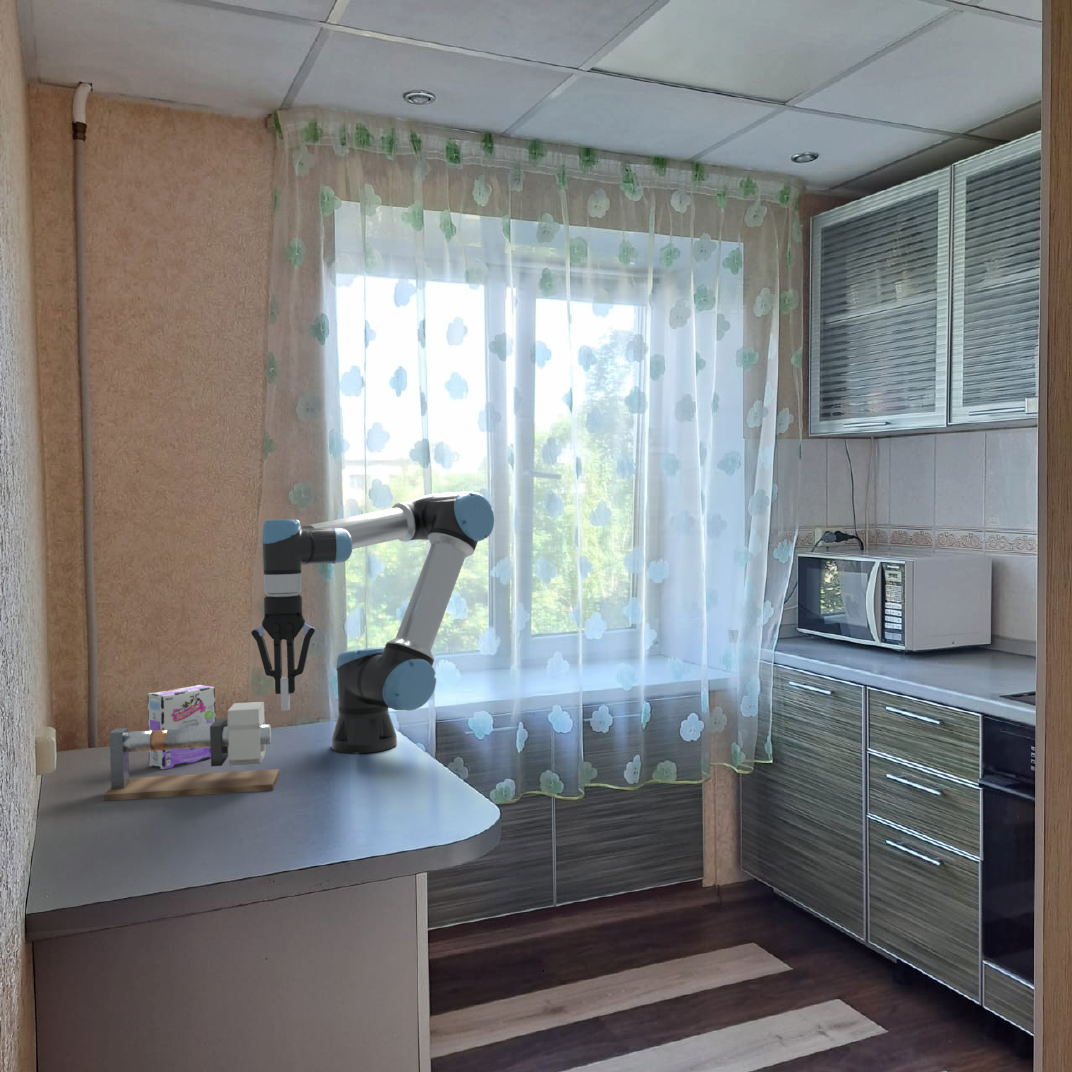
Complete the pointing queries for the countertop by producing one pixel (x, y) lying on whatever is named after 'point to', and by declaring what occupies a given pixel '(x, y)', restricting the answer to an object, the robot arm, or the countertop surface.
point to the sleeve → (245, 733)
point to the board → (195, 784)
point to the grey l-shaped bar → (160, 745)
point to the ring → (218, 742)
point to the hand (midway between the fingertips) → (285, 709)
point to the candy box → (180, 721)
